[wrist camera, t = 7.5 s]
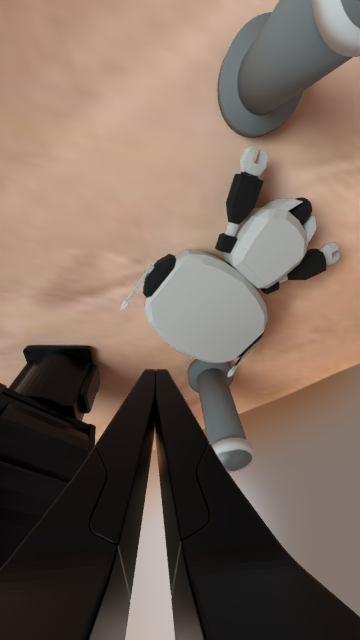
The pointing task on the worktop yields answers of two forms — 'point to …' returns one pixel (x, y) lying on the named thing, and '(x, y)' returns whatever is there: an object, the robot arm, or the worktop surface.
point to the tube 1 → (220, 414)
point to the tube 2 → (284, 60)
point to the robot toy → (233, 273)
